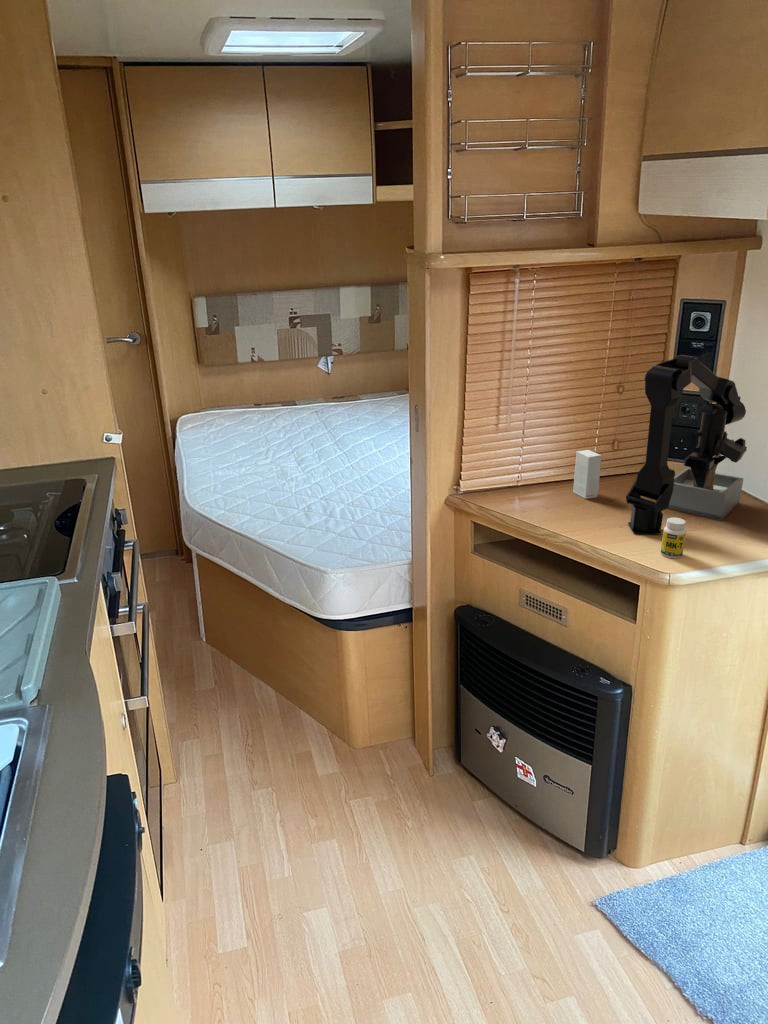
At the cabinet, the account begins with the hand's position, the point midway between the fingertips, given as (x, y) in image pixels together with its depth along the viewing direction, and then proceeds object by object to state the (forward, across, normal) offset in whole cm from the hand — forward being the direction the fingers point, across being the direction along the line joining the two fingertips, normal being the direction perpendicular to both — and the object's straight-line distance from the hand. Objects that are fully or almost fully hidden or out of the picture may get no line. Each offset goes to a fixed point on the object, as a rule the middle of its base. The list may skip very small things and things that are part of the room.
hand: (703, 485), depth 203 cm
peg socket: (+6, 0, 0) cm, 6 cm away
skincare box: (+6, -11, +28) cm, 30 cm away
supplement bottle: (+6, -35, -5) cm, 36 cm away
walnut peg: (+4, 0, 0) cm, 4 cm away
